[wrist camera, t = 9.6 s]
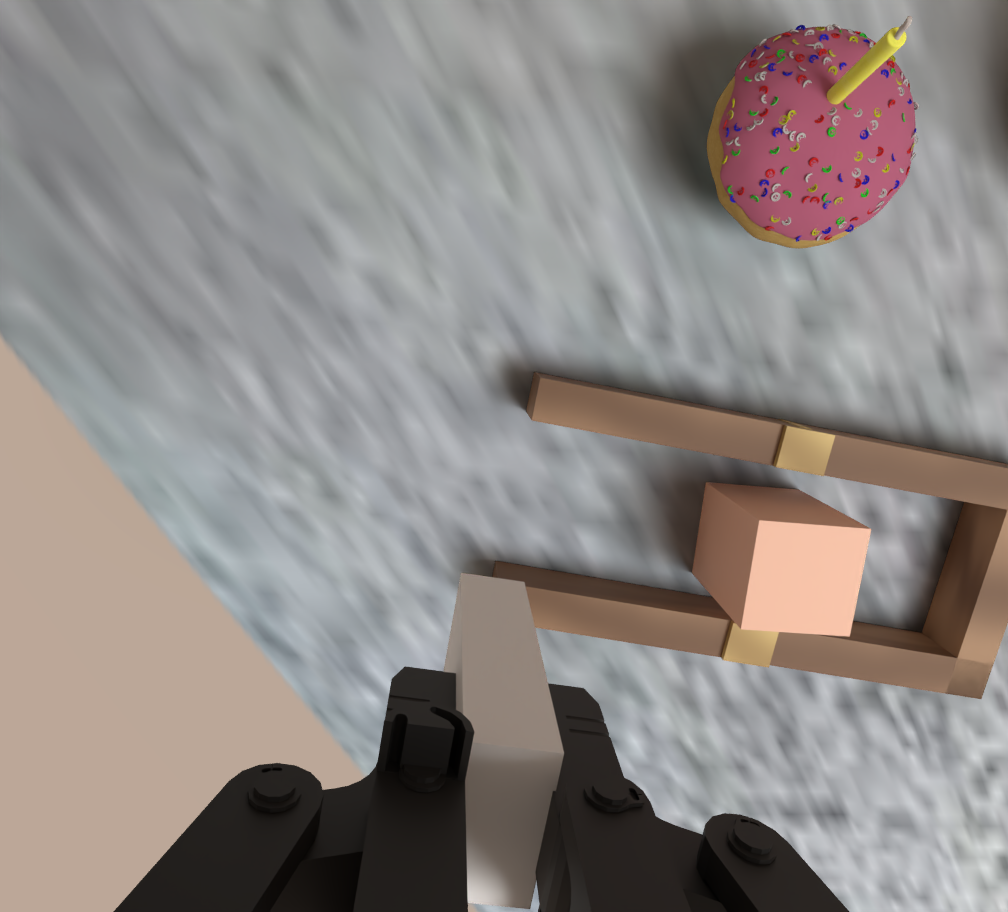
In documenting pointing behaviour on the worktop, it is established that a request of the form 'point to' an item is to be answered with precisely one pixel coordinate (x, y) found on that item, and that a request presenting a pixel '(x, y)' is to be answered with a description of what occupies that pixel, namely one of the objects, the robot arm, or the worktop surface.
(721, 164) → the cupcake
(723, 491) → the block
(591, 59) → the worktop surface
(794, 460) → the slotted beam
